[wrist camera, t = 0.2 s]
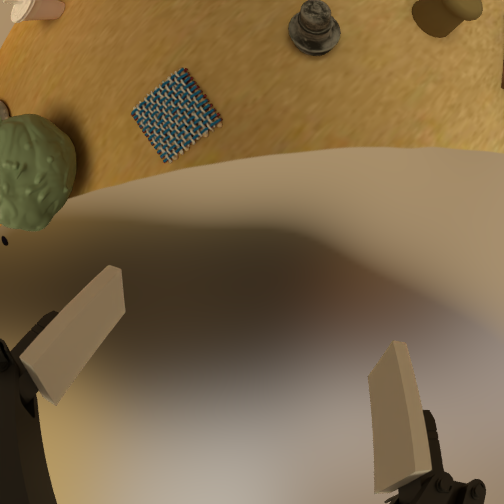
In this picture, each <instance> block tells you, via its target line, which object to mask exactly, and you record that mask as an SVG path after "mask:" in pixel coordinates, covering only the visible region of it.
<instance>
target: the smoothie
mask: <svg viewBox="0 0 504 504" xmlns="http://www.w3.org/2000/svg"><path fill="white" fill-rule="evenodd" d="M3 3H13V4H14V6H13V9H12V12H11V20H12V22H16V23H20V22H22V21H28V20H47V19H57V18H59V17H60V16H61V15H62V13H63V11H64V9H65V4H64V3H63V2H61V1H58V0H16V1H13V0H4V1H3Z"/></svg>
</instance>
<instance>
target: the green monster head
mask: <svg viewBox="0 0 504 504" xmlns="http://www.w3.org/2000/svg"><path fill="white" fill-rule="evenodd" d="M75 176H76V152H75V147H74V145H73V143H72V141H71V139H70V138H69V136H68V135H66V134H65V133H64V132H63V131H61V130H60V129H59V128H58V127H57V126H55V125H54V124H53V123H52V122H51V121H49V120H47V119H45V118H43V117H41V116H39V115H36V114H24V115H19V116H13V117H10V118H7V119H5V120H2V117H0V224H2V225H4V226H5V227H9V228H13V229H23V230H26V231H39V230H42V229H43V228H45V227H46V226H47V225H48V223H49V222H50V221H51V219H52V218H53V216H54V215H55V214H56V213H57V212H58V211H59V210H60V209H61V208H62V207H63V205H64V204H65V202H66V201H67V199H68V197H69V195H70V193H71V191H72V188H73V184H74V180H75Z"/></svg>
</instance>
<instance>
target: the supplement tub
mask: <svg viewBox="0 0 504 504" xmlns="http://www.w3.org/2000/svg"><path fill="white" fill-rule="evenodd" d="M0 117H2V120H5V119H7V118H9V113H8V109H7V107H6V106H5V104H4V103H3V102H2V101H0Z"/></svg>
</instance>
